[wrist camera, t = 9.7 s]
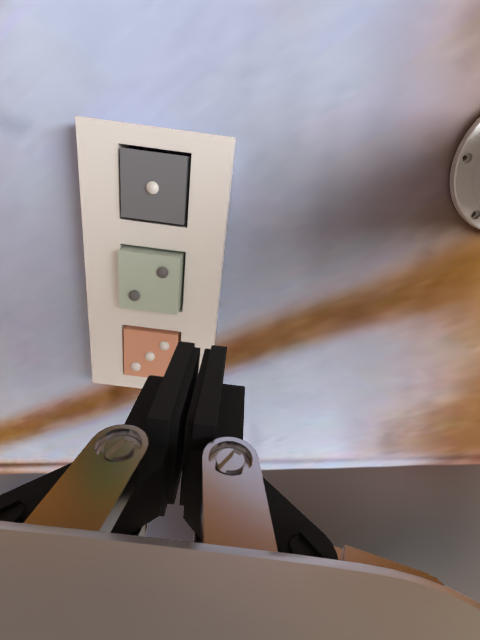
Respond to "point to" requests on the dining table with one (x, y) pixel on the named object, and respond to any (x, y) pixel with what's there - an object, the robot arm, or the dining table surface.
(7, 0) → the dining table surface
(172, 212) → the tile one
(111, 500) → the robot arm
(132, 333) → the tile three
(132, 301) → the tile two
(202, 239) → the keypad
